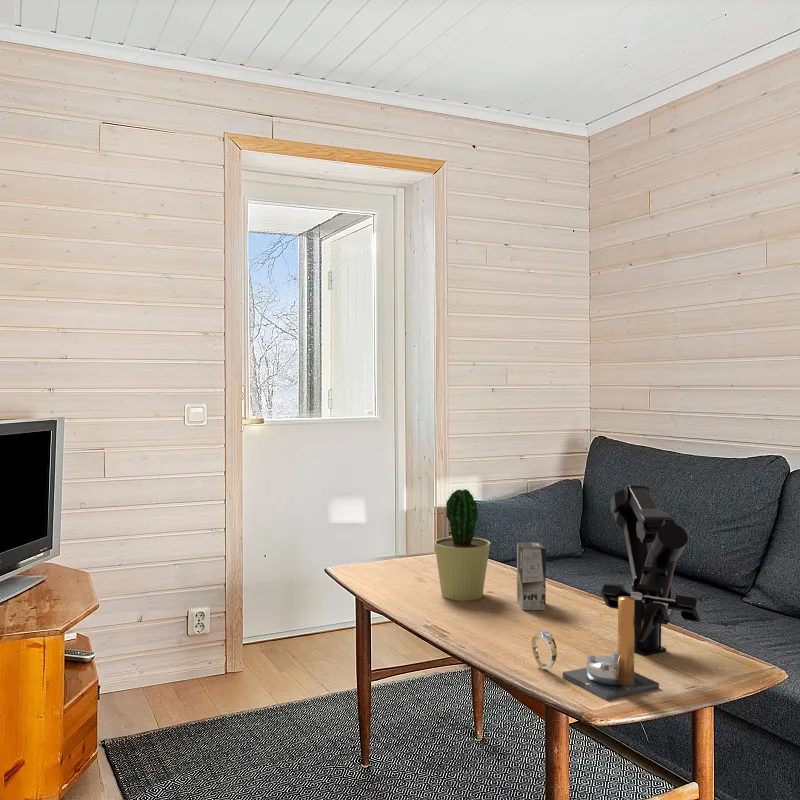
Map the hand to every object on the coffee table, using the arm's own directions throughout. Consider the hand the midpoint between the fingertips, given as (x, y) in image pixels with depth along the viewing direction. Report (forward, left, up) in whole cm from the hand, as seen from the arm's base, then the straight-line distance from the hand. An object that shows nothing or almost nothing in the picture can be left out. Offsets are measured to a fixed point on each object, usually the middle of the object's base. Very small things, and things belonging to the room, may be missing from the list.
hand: (640, 640), depth 157 cm
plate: (+3, -5, -9) cm, 11 cm away
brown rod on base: (+3, -4, -8) cm, 10 cm away
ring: (+10, -17, -10) cm, 22 cm away
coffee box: (-15, -57, -10) cm, 60 cm away
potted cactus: (-4, -74, -10) cm, 75 cm away
